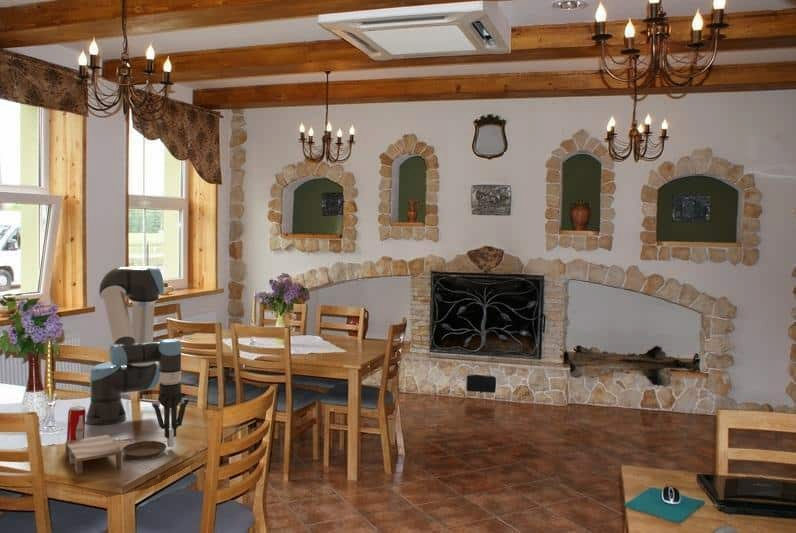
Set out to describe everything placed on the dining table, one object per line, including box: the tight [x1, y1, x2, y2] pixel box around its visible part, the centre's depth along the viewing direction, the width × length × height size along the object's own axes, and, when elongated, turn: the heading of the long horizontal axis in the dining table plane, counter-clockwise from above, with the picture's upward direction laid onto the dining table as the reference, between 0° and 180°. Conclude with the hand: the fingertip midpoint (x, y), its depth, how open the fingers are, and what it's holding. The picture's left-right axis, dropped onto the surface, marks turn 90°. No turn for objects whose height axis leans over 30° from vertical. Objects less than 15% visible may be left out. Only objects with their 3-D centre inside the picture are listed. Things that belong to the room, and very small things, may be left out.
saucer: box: [121, 440, 167, 461], centre depth 246 cm, size 15×15×3 cm
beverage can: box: [66, 405, 87, 441], centre depth 250 cm, size 6×6×15 cm
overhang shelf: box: [65, 434, 123, 477], centre depth 236 cm, size 20×14×6 cm
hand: (170, 445), depth 251 cm, fingers closed
